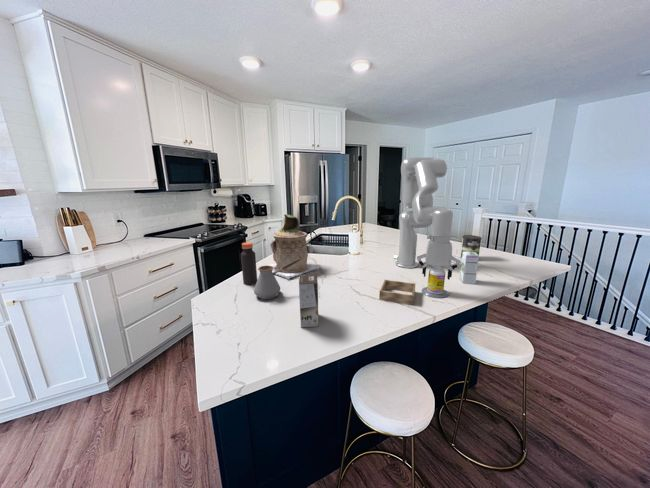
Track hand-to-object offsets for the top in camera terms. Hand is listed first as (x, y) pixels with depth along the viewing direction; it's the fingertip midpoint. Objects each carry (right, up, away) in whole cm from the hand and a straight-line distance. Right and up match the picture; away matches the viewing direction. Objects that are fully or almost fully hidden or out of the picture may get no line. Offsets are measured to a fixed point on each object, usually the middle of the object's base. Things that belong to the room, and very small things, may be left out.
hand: (436, 277), depth 113 cm
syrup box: (+21, -4, +14) cm, 25 cm away
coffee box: (-54, -13, -20) cm, 59 cm away
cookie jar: (-68, 0, +34) cm, 76 cm away
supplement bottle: (0, -7, +2) cm, 7 cm away
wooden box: (-17, -8, -1) cm, 19 cm away
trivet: (0, -7, +2) cm, 7 cm away
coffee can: (+42, +5, +50) cm, 65 cm away
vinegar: (-86, -5, +16) cm, 88 cm away
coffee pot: (-69, -8, +2) cm, 70 cm away
